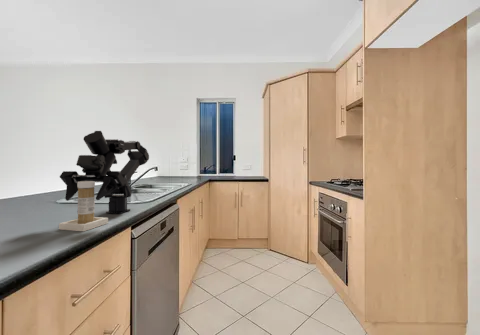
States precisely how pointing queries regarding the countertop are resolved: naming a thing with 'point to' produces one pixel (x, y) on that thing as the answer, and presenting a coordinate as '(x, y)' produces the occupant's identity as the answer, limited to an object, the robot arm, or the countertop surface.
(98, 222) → the tray
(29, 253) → the countertop surface
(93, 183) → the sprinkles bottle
